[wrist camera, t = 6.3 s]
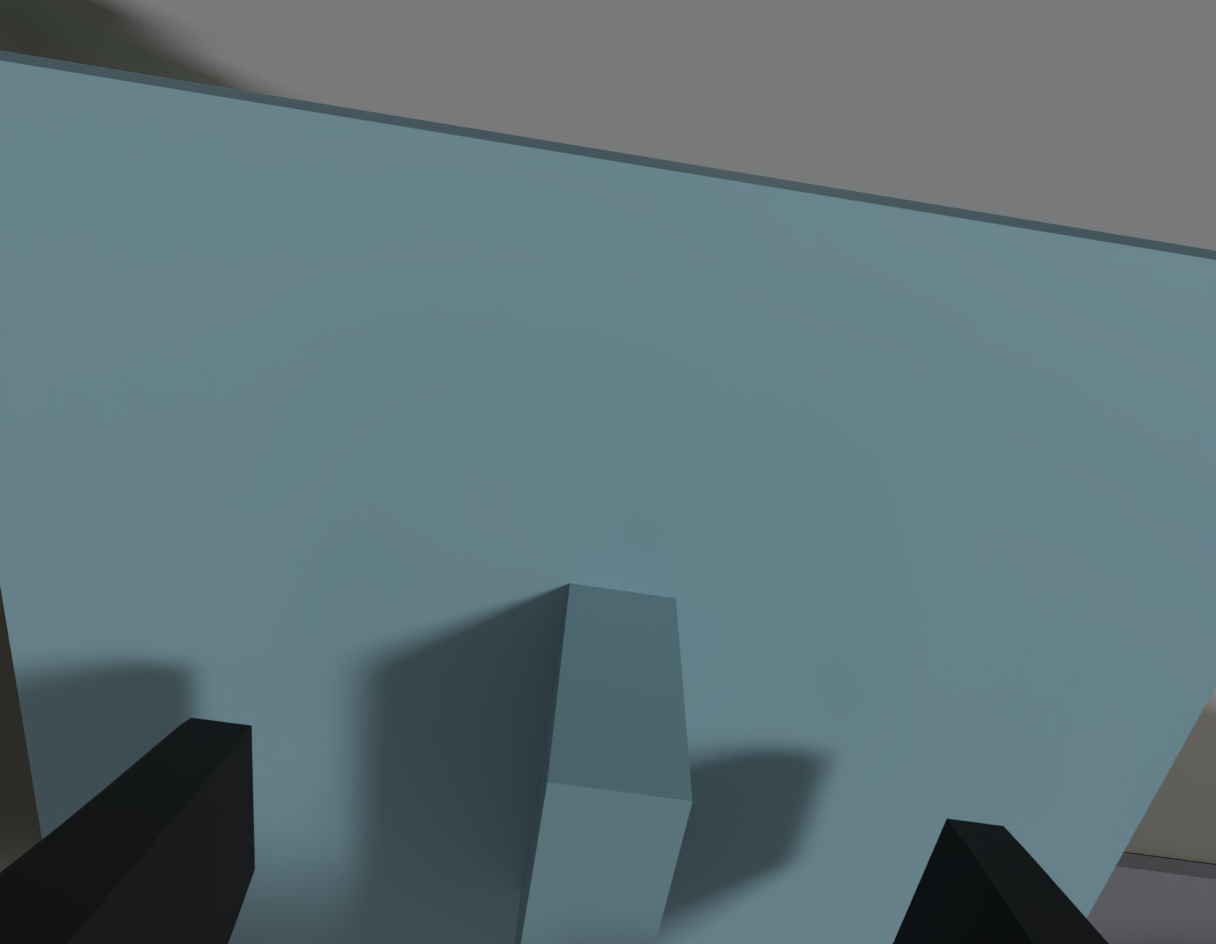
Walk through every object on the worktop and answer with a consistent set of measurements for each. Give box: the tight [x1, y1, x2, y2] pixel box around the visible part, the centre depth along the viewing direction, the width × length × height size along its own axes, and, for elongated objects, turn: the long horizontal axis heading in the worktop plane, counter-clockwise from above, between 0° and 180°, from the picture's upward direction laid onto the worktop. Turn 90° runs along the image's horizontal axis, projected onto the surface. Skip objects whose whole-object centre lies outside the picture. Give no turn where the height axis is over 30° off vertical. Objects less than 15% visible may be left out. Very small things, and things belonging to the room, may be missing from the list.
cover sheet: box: [0, 51, 1216, 944], centre depth 10 cm, size 14×14×4 cm
